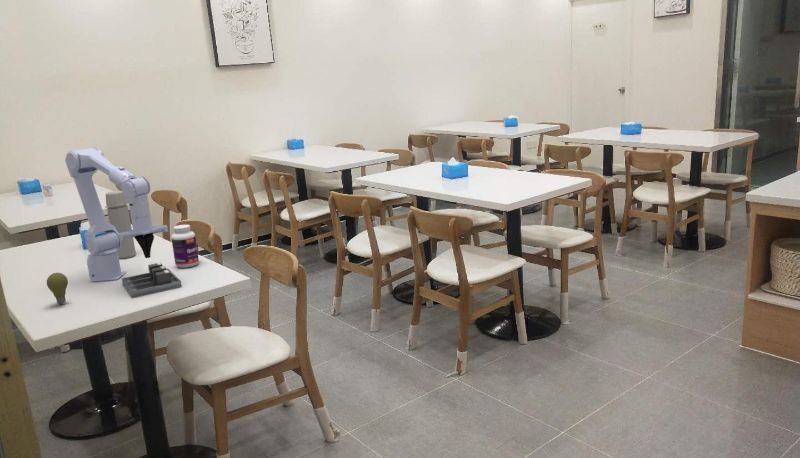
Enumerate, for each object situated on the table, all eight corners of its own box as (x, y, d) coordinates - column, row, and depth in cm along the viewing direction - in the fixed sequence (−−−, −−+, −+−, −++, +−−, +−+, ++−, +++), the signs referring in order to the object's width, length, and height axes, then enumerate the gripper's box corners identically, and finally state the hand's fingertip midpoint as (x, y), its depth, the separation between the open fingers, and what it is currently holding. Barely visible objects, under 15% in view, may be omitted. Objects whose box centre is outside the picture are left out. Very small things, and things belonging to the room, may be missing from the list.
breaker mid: (155, 282, 197) (153, 270, 196) (153, 280, 200) (151, 268, 199) (168, 279, 199) (166, 267, 198) (166, 277, 202) (164, 265, 201)
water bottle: (141, 254, 235) (130, 191, 229) (122, 260, 228) (111, 195, 222) (126, 252, 240) (115, 189, 233) (108, 257, 233) (96, 193, 227)
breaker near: (158, 287, 193) (156, 274, 192) (157, 284, 195) (155, 272, 194) (172, 284, 195) (170, 271, 194) (169, 281, 197) (167, 269, 196)
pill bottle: (191, 269, 213) (186, 229, 210) (171, 268, 215) (165, 229, 211) (203, 262, 221) (198, 223, 217) (183, 261, 222) (177, 223, 219)
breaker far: (151, 278, 202) (149, 266, 201) (149, 276, 204) (147, 264, 203) (164, 275, 204) (162, 263, 203) (162, 273, 206) (160, 261, 205)
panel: (131, 298, 187) (130, 292, 187) (122, 284, 201) (121, 278, 201) (181, 286, 195) (180, 281, 195) (169, 274, 209) (168, 268, 209)
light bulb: (56, 301, 188) (50, 270, 186) (75, 300, 189) (69, 269, 186) (48, 308, 183) (41, 276, 180) (67, 306, 183) (60, 275, 181)
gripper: (118, 222, 185) (125, 264, 189) (167, 214, 193) (173, 255, 196) (114, 218, 191) (121, 259, 195) (162, 210, 199) (168, 250, 202)
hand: (147, 257), depth 196 cm, fingers closed
